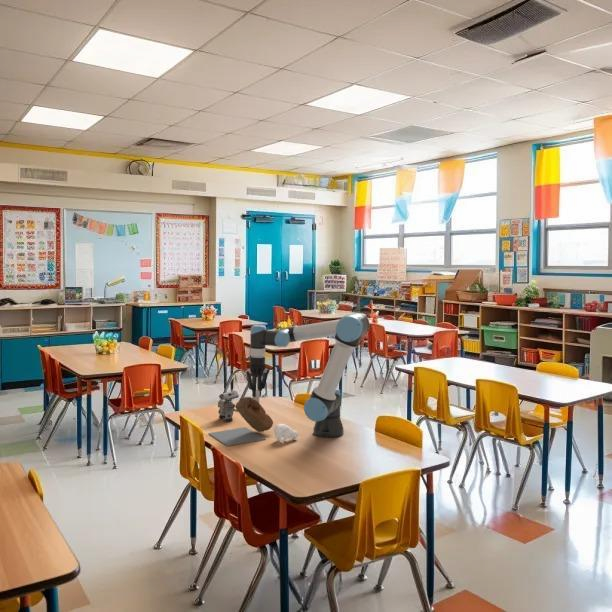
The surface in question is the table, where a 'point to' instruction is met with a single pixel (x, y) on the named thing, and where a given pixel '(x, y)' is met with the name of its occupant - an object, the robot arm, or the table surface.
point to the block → (254, 414)
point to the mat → (236, 436)
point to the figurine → (227, 405)
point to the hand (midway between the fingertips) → (256, 403)
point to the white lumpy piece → (284, 432)
